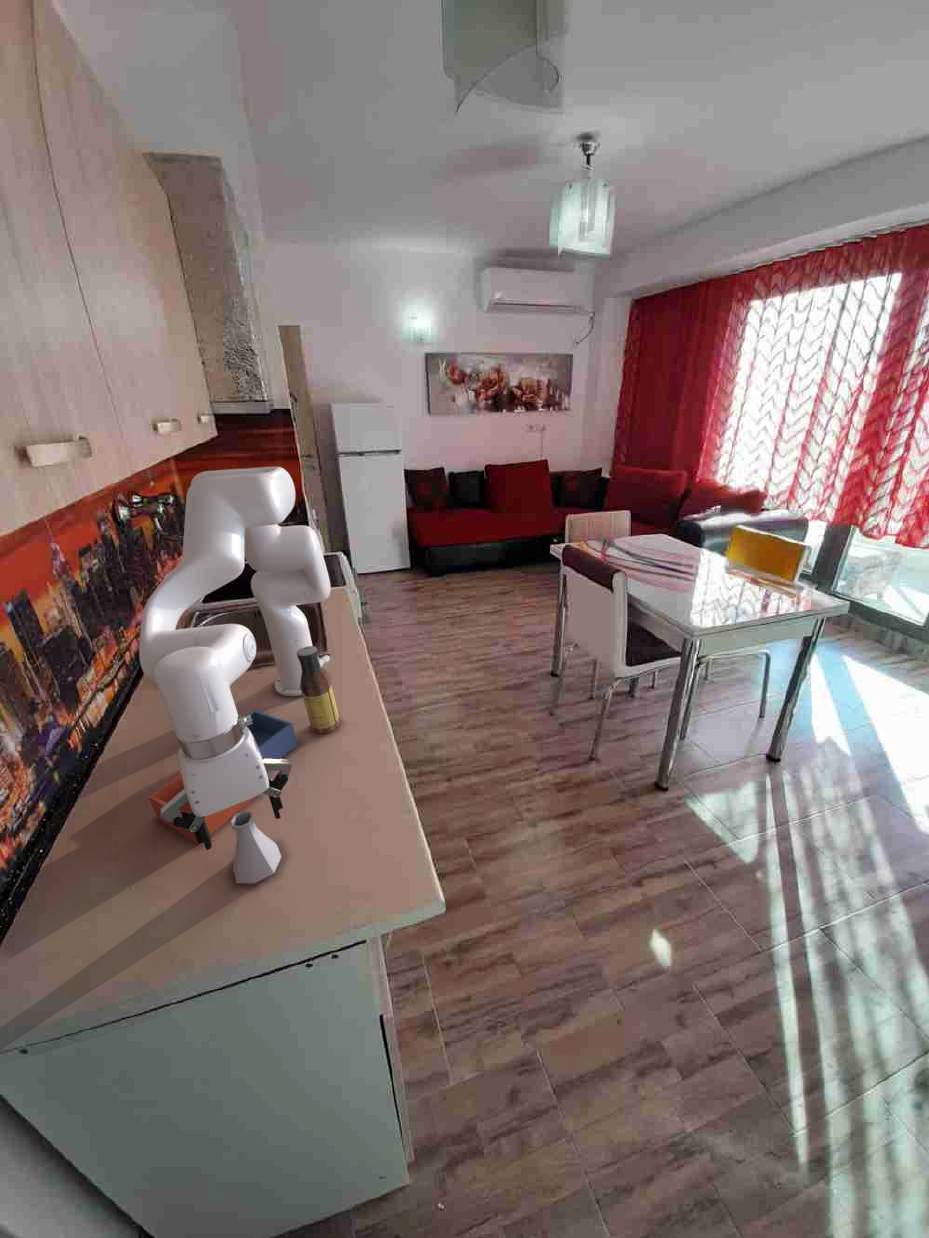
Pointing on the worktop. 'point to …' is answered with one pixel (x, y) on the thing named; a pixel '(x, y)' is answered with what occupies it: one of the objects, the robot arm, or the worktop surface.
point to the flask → (252, 850)
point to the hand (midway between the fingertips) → (243, 827)
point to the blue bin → (272, 735)
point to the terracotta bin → (176, 787)
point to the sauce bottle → (317, 692)
